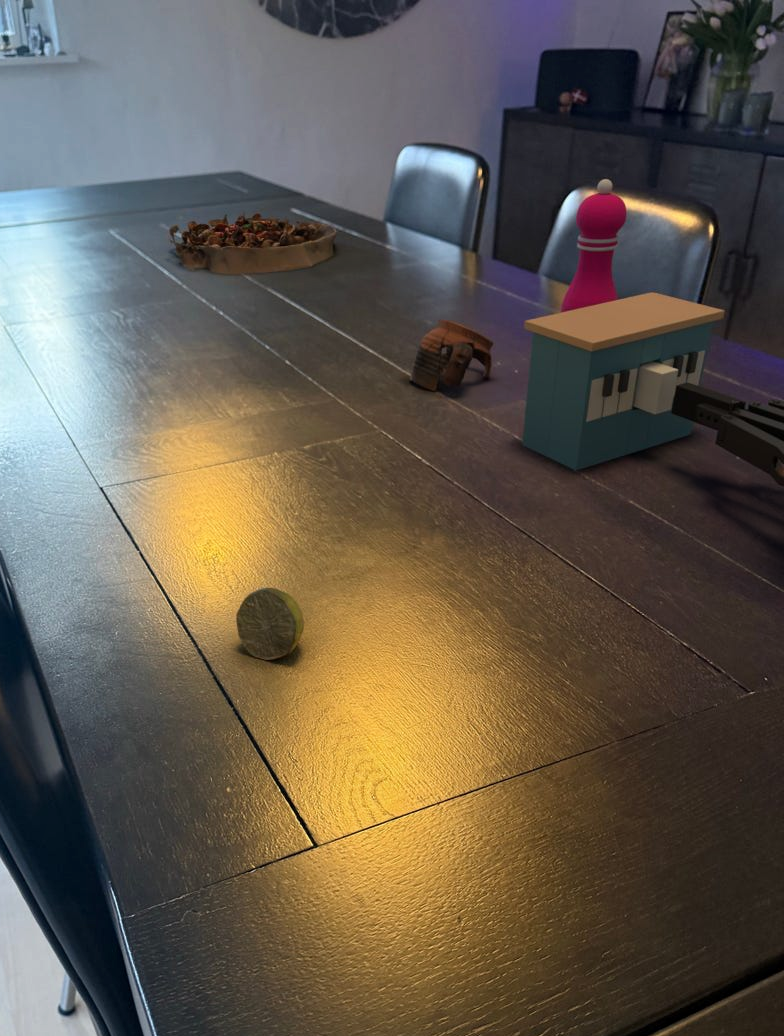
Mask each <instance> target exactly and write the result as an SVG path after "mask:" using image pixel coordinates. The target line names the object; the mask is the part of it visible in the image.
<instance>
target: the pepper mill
mask: <svg viewBox="0 0 784 1036" xmlns="http://www.w3.org/2000/svg"><path fill="white" fill-rule="evenodd" d="M596 189H597V193H596V192H595V193H594V194H591V195H589V196H587V197H585V198H584V199H583V200H582V202H581V203H580V204H579V206H578V209H577V211H576V215H575V222H576V226H577V228H578V229H579V231H580V233H581V234H579V235H578V236H577V240H578V242H577V244H576V247H577V249H579V258H578V264H577V267H576V271H575V274H574V276H573V278H572V280H571V283H570V285H569V286H568V288H567V290H566V291H565V295H564V297H563V300H562V302H561V303H562V304H561V308H560V313H562V312H567V311H571V310H575V309H580V308H584V307H589V306H593V305H598V304H602V303H606V302H611V301H615V300H619V299H618V293H617V290H616V286H615V283H614V278H613V257H614V252H615V250H616V249H618V247H619V244H618V242H619V240H620V236H619V235H618V232H619V231H620V230H621V229H622V228H623V227H624V225H625V223H626V220H627V206H626V203H625V201H624V200H623V199H622V198H621V197H620V196H619V195H617V194H614V193H611V192H612V190H613V183H612V181H611V180H610V179H608V178H605V179H604V178H603V179H602V180H600V181H599V182H598V184H597V188H596Z"/></svg>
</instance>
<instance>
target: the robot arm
mask: <svg viewBox="0 0 784 1036" xmlns="http://www.w3.org/2000/svg"><path fill="white" fill-rule="evenodd" d="M671 414H674V415H677V416H679V417H682V418H685V419H688V420H690V421H693V423H695V424H698V425H701V426H704V427H707V428H709V429H712V430H715V431H717V434H716V437H715V442H714V444H715V445H717V446H718V447H720V448H722V449H724V450H726V451H727V452H729V453H730V454H732V455H734V456H736V457H738V458H739V459H741V460H743V461H744V462H746V463H749V464H750V465H751V466H753V467H755V468H757V469H758V470H761V471H762V472H765V473H766V474H768V475H769V476H771V478H772V479H773V480H774V482H775V483H776V484H778V485H779V486H781V487H784V400H781V399H778V398H772V399H770V400H768V403H763V402H761V401H750V402H749V403H747V401H745V400H742V399H739V398H736V397H733V396H730V395H728V394H724V393H721V392H718V391H715V390H712V389H709V388H706V387H703V386H701V385H700V386H697V385H694V384H691V383H688V382H687V383H683V384H680V385H676V390H675V395H674V401H673V406H672V411H671Z"/></svg>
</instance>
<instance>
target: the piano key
mask: <svg viewBox="0 0 784 1036" xmlns="http://www.w3.org/2000/svg"><path fill="white" fill-rule="evenodd" d="M677 374H678V369H675V368H672V367H669V366H666V365H663V364H660V363H657V362H654V361H650V362H646V363H642V364H640V365H639V371H638V377H637V384H636V390H635V396H634V402H633V406H634V407H636V408H639V409H642V410H644V411H647V412H650V413H652V414H658V413H662V412H665V411H668V410H671V406H672V401H673V396H674V390H675V385H676V379H677Z"/></svg>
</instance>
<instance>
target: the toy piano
mask: <svg viewBox="0 0 784 1036" xmlns="http://www.w3.org/2000/svg"><path fill="white" fill-rule="evenodd" d="M724 315H725V310H724V309H721V308H716V307H713V306H712V307H711V306H709V305H704V304H700V303H697V302H693V301H689V300H685V299H682V298H678V297H673V296H669V295H666V294H661V293H657V292H653V291H651V292H647V293H641V294H638V295H633V296H628V297H625V298H621V299H618V300H615V301H611V302H606V303H602V304H598V305H593V306H589V307H584V308H580V309H575V310H571V311H567V312H562V313H561V312H559V313H553V314H549V315H544V316H540V317H536V318H532V319H526V320H524V327H523V329H524V330H526V331H529V332H532V337H531V346H530V347H531V348H530V356H529V369H528V380H527V390H526V400H525V410H524V411H525V412H524V421H523V431H522V443H521V445H522V446H523V447H525V448H528V449H529V450H532V451H534V452H536V453H538V454H540V455H542V456H545V457H547V458H549V459H551V460H553V461H555V462H557V463H559V464H562V465H563V466H566V467H567V468H570V469H572V470H574V471H579V470H583V469H586V468H588V467H592V466H595V465H598V464H601V463H604V462H608V461H611V460H614V459H617V458H620V457H623V456H626V455H630V454H633V453H637V452H639V451H643V450H646V449H649V448H652V447H655V446H659V445H662V444H665V443H668V442H671V441H674V440H677V439H680V438H683V437H687V436H691V434H692V429H693V425H694V422H693V421H690V420H688V419H685V418H682V417H679V416H677V415H674V414H671V411H672V406H673V401H674V396H673V401H672V406H671V410H668V411H665V412H662V413H658V414H652V413H650V412H647V411H644V410H642V409H639V408H636V407H634V406H633V402H634V396H635V390H636V384H637V377H638V371H639V365H640V364H642V363H646V362H650V361H654V362H657V363H660V364H663V365H666V366H669V367H672V368H675V369H678V374H677V379H676V385H680V384H683V383H687V382H688V383H691V384H694V385H697V386H700V387H701V385H702V381H703V374H704V371H705V365H706V359H707V355H708V350H709V344H710V340H711V335H712V329H713V325H714V324H713V323H714V322H715V321H719V320H723V319H724ZM676 385H675V390H676ZM675 390H674V395H675Z"/></svg>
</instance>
